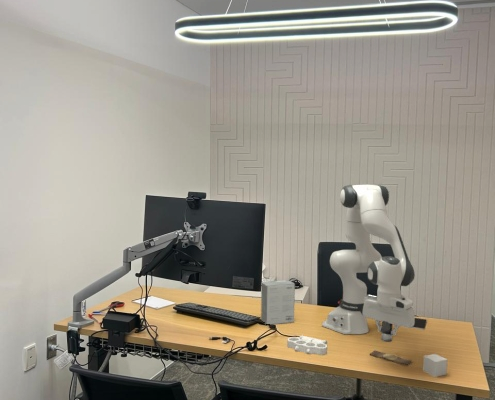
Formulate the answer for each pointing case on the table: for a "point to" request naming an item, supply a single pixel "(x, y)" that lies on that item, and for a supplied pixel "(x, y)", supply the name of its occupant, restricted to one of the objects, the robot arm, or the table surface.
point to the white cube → (435, 365)
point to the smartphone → (419, 323)
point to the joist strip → (391, 358)
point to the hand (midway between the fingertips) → (386, 333)
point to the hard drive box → (277, 302)
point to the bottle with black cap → (386, 331)
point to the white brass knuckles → (308, 345)
